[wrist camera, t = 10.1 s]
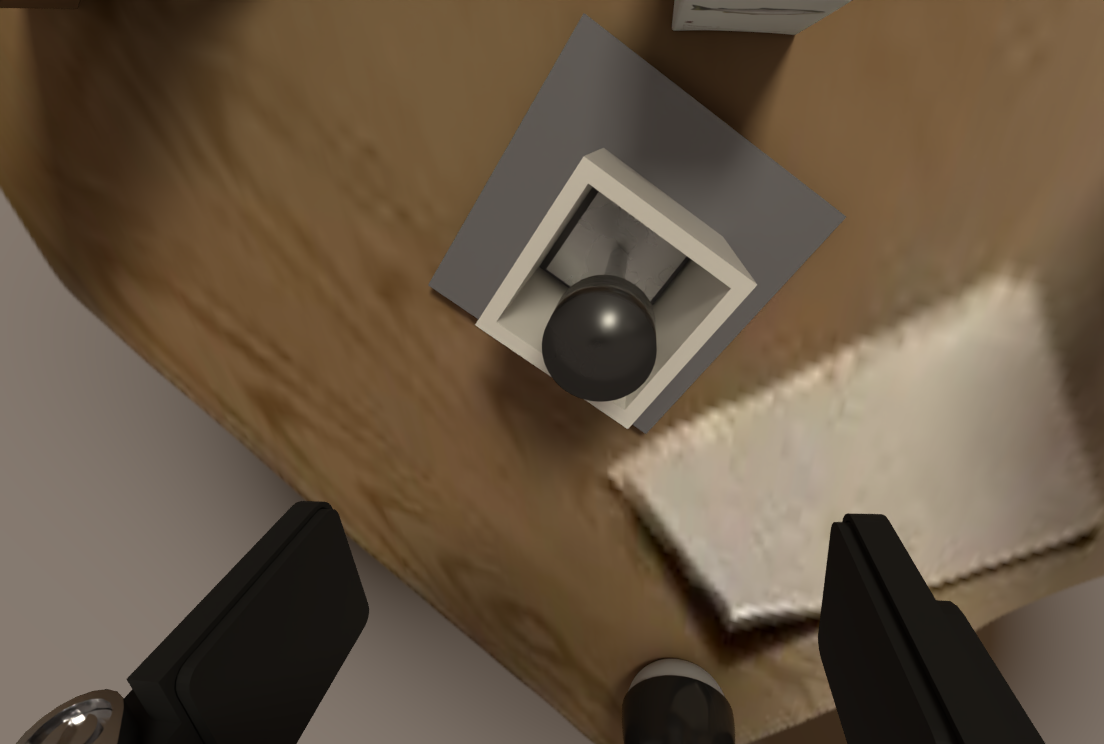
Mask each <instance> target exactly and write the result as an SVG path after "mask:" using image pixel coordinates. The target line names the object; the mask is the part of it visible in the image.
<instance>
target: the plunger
mask: <svg viewBox="0 0 1104 744" xmlns="http://www.w3.org/2000/svg"><path fill="white" fill-rule="evenodd" d="M685 258H686V255H685V254H684V253H682V252H681V251H679V250H678V249H677V248H675V247H674V246H673V245H671V244H670V243H669V242H667V241H666V240H665V239H663V238H662V237H660V236H659V235H658V234H656V233H655V232H654V231H652V230H651V229H650V228H648V227H647V226H645V225H644V224H643V223H641V222H640V221H639V220H637V219H636V218H635V217H633V216H632V215H631V214H629V213H628V212H626V211H625V210H624V209H622V208H621V207H620V206H618V205H617V204H616V203H614V202H613V201H611V200H610V199H609V198H607V197H606V196H605V195H603V194H602V193H601V192H598V194H597V195H596V196H595V198H594V199H593V201H592V202H591V204H590V205H589V207H588V208H587V210H586V211H585V213H584V214H583V216H582V217H581V219H580V220H579V222H578V223H577V225H576V226H575V227H574V229H573V230H572V232H571V233H570V235H569V236H568V238H567V239H566V241H565V242H564V244H563V245H562V247H561V248H560V250H559V251H558V253H557V254H556V255H555V257H554V258H553V260H552V261H551V263H550V264H549V266H548V267H547V270H548V271H549V272H551V273H552V274H554V275H555V276H556V277H558V278H559V279H561V280H562V281H564V282H565V283H566V284H568V285H569V286H571V287H570V288H568V289H567V290H566V292H565V293H564V294H563V295H562V297H561V298H560V300H559V302H558V304H557V306H556V308H555V310H554V312H553V313H552V315H551V317H550V319H549V321H548V323H547V325H546V328H545V330H544V334H543V338H542V355H543V360H544V363H545V366H546V368H547V370H548V372H549V374H550V375H551V377H552V378H553V379H554V381H555V382H556V383H557V384H558V385H559V386H560V387H562V388H563V389H564V390H565V391H567V392H569V393H570V394H572V395H574V396H576V397H579V398H582V399H585V400H589V401H598V402H604V401H612V400H617V399H620V398H623V397H625V396H627V395H629V394H631V393H633V392H634V391H636V390H637V389H638V388H639V387H640V386H641V385H642V384H643V383H644V382H645V381H646V380H647V378H648V377H649V375H650V374H651V372H652V370H653V367H654V365H655V361H656V354H657V343H656V322H655V314H654V310H653V307H652V305H651V303H650V301H651V300H652V299H653V297H654V296H655V295H656V294H657V293H658V291H659V290H660V289H661V288H662V286H663V285H664V284H665V283H666V281H667V280H668V279H669V278H670V276H671V275H672V274H673V273H674V271H675V270H676V269H677V268H678V266H679V265H680V264H681V263H682V261H683V260H684V259H685Z"/></svg>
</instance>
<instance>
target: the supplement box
mask: <svg viewBox="0 0 1104 744" xmlns="http://www.w3.org/2000/svg"><path fill="white" fill-rule="evenodd" d="M850 1H852V0H675V1H674V10H673V19H672V30H673V31H684V30H720V31H745V32H765V33H779V34H790V35H796V34H798V33H799V32H801V31H803V30H804V29H806V28H808V27H809V26H811V25H813V24H814V23H816V22H818V21H819V20H821V19H823V18H824V17H826V16H828V15H829V14H831V13H833V12H834V11H836V10H838V9H839V8H841V7H842V6H844V5H845V4H847V3H849V2H850Z"/></svg>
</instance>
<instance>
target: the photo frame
mask: <svg viewBox="0 0 1104 744" xmlns="http://www.w3.org/2000/svg"><path fill="white" fill-rule="evenodd" d="M79 2H80V0H0V8H61V9H77V8H78V5H79Z"/></svg>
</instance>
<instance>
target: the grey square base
mask: <svg viewBox="0 0 1104 744" xmlns="http://www.w3.org/2000/svg"><path fill="white" fill-rule="evenodd" d="M598 192H601V193H602V194H603V195H605V196H606V197H607V198H609V199H610V200H611V201H613V202H614V203H616V204H617V205H618V206H620V207H621V208H622V209H624V210H625V211H626V212H628V213H629V214H631V215H632V216H633V217H635V218H636V219H637V220H639V221H640V222H641V223H643V224H644V225H645V226H647V227H648V228H650V229H651V230H652V231H654V232H655V233H656V234H658V235H659V236H660V237H662V238H663V239H665V240H666V241H667V242H669V243H670V244H671V245H673V246H674V247H675V248H677V249H678V250H679V251H681V252H682V253H684V254H685V255H686V258H685V259H684V260H683V261H682V263H681V264H680V265H679V266H678V268H677V269H676V270H675V271H674V273H673V274H672V275H671V276H670V278H669V279H668V280H667V281H666V283H665V284H664V285H663V286H662V288H661V289H660V290H659V291H658V293H657V294H656V295H655V296H654V297H653V299H652V300H651V301H650V303H651V305H652V307H653V310H654V314H655V322H656V343H657V354H656V361H655V365H654V367H653V370H652V372H651V374H650V375H649V377H648V378H647V380H646V381H645V382H644V383H643V384H642V385H641V386H640V387H639V388H638V389H637V390H636V391H634V392H633V393H631V394H629V395H627V396H625V397H623V398H620V399H617V400H612V401H604V402H598V401H589V400H586V401H587V402H589V403H590V404H592V405H593V406H595V407H596V408H598V409H599V410H600V411H602V412H603V413H605V414H606V415H608V416H609V417H611V418H612V419H614V420H615V421H617V422H618V423H620V424H621V425H622V426H624V427H625V428H627V429H628V428H629V427H630V426H631V425H634V426H635V427H637V428H638V429H639V430H641V431H642V432H644V433H645V434H646V433H647V432H648V431H649V430H650V429H651V428H652V427H653V426H654V425H655V424H656V422H657V421H658V420H659V419H660V418H661V417H662V416H663V415H664V414H665V413H666V412H667V411H668V409H669V408H670V407H671V406H672V405H673V404H674V403H675V402H676V401H677V400H678V399H679V398H680V397H681V395H682V394H683V393H684V392H685V391H686V390H687V389H688V388H689V387H690V386H691V385H692V384H693V382H694V381H695V380H696V379H697V378H698V377H699V376H700V375H701V374H702V373H703V372H704V371H705V369H706V368H707V367H708V366H709V365H710V364H711V363H712V362H713V361H714V360H715V359H716V358H717V356H718V355H719V354H720V353H721V352H722V351H723V350H724V349H725V348H726V347H727V346H728V345H729V343H730V342H731V341H732V340H733V339H734V338H735V337H736V336H737V335H738V334H739V333H740V332H741V330H742V329H743V328H744V327H745V326H746V325H747V324H748V323H749V322H750V321H751V320H752V319H753V317H754V316H755V315H756V314H757V313H758V312H759V311H760V310H761V309H762V308H763V307H764V306H765V304H766V303H767V302H768V301H769V300H770V299H771V298H772V297H773V296H774V295H775V294H776V293H777V291H778V290H779V289H780V288H781V287H782V286H783V285H784V284H785V283H786V282H787V281H788V280H789V278H790V277H791V276H792V275H793V274H794V273H795V272H796V271H797V270H798V269H799V268H800V267H801V265H802V264H803V263H804V262H805V261H806V260H807V259H808V258H809V257H810V256H811V255H812V254H813V252H814V251H815V250H816V249H817V248H818V247H819V246H820V245H821V244H822V243H823V242H824V241H825V239H826V238H827V237H828V236H829V235H830V234H831V233H832V232H833V231H834V230H835V229H836V228H837V226H838V225H839V224H840V223H841V222H842V221H843V220H844V219H845V218H846V216H845V215H843V214H842V213H841V212H839V211H838V210H837V209H836V208H834V207H833V206H832V205H830V204H829V203H828V202H827V201H825V200H824V199H823V198H821V197H820V196H819V195H818V194H816V193H815V192H814V191H812V190H811V189H810V188H809V187H807V186H806V185H805V184H803V183H802V182H801V181H800V180H798V179H797V178H796V177H794V176H793V175H792V174H791V173H789V172H788V171H787V170H785V169H784V168H783V167H782V166H780V165H779V164H778V163H776V162H775V161H774V160H773V159H771V158H770V157H769V156H767V155H766V154H765V153H763V152H762V151H761V150H760V149H758V148H757V147H756V146H754V145H753V144H752V143H751V142H749V141H748V140H747V139H745V138H744V137H743V136H742V135H740V134H739V133H738V132H736V131H735V130H734V129H733V128H731V127H730V126H729V125H727V124H726V123H725V122H724V121H722V120H721V119H720V118H718V117H717V116H716V115H715V114H713V113H712V112H711V111H709V110H708V109H707V108H706V107H704V106H703V105H702V104H700V103H699V102H698V101H697V100H695V99H694V98H693V97H691V96H690V95H689V94H688V93H686V92H685V91H684V90H682V89H681V88H680V87H679V86H677V85H676V84H675V83H673V82H672V81H671V80H669V79H668V78H667V77H666V76H664V75H663V74H662V73H660V72H659V71H658V70H657V69H655V68H654V67H653V66H651V65H650V64H649V63H648V62H646V61H645V60H644V59H642V58H641V57H640V56H639V55H637V54H636V53H635V52H633V51H632V50H631V49H630V48H628V47H627V46H626V45H624V44H623V43H622V42H621V41H619V40H618V39H617V38H615V37H614V36H613V35H612V34H610V33H609V32H608V31H606V30H605V29H604V28H603V27H601V26H600V25H599V24H597V23H596V22H595V21H594V20H592V19H591V18H590V17H588V16H587V15H586V14H583V16H582V17H581V19H580V21H579V23H578V24H577V26H576V28H575V29H574V31H573V33H572V35H571V36H570V38H569V40H568V42H567V43H566V45H565V47H564V49H563V50H562V52H561V54H560V56H559V57H558V59H557V61H556V63H555V64H554V66H553V68H552V70H551V71H550V73H549V75H548V77H547V78H546V80H545V82H544V84H543V85H542V87H541V89H540V91H539V92H538V94H537V96H536V98H535V99H534V101H533V103H532V105H531V106H530V108H529V110H528V112H527V113H526V115H525V117H524V119H523V120H522V122H521V124H520V126H519V127H518V129H517V131H516V133H515V134H514V136H513V138H512V140H511V141H510V143H509V145H508V147H507V148H506V150H505V152H504V154H503V155H502V157H501V159H500V161H499V162H498V164H497V166H496V168H495V169H494V171H493V173H492V175H491V176H490V178H489V180H488V182H487V183H486V185H485V187H484V189H483V190H482V192H481V194H480V196H479V197H478V199H477V201H476V203H475V204H474V206H473V208H472V210H471V211H470V213H469V215H468V217H467V218H466V220H465V222H464V224H463V225H462V227H461V229H460V231H459V232H458V234H457V236H456V238H455V239H454V241H453V243H452V245H451V246H450V248H449V250H448V252H447V253H446V255H445V257H444V259H443V260H442V262H441V264H440V266H439V267H438V269H437V271H436V273H435V274H434V276H433V278H432V280H431V281H430V283H429V286H430V287H432V288H433V289H435V290H436V291H438V292H439V293H440V294H442V295H443V296H445V297H446V298H448V299H449V300H451V301H452V302H454V303H455V304H457V305H458V306H460V307H461V308H462V309H464V310H465V311H467V312H468V313H470V314H471V315H473V316H474V317H476V318H477V319H479V320H478V321H477V323H476V324H475V325H476V326H477V327H479V328H480V329H482V330H483V331H485V332H486V333H487V334H489V335H490V336H492V337H493V338H495V339H496V340H498V341H499V342H501V343H502V344H504V345H505V346H507V347H508V348H509V349H511V350H512V351H514V352H515V353H517V354H518V355H520V356H521V357H523V358H524V359H526V360H527V361H529V362H530V363H531V364H533V365H534V366H536V367H537V368H539V369H540V370H542V371H543V372H545V373H546V374H548V375H549V376H551V375H550V374H549V372H548V370H547V368H546V366H545V363H544V360H543V355H542V338H543V334H544V330H545V328H546V325H547V323H548V321H549V319H550V317H551V315H552V313H553V312H554V310H555V308H556V306H557V304H558V302H559V300H560V298H561V297H562V295H563V294H564V293H565V292H566V290H567V289H568V288H570V287H571V286H569V285H568V284H566V283H565V282H564V281H562V280H561V279H559V278H558V277H556V276H555V275H554V274H552V273H551V272H549V271H548V270H547V267H548V266H549V264H550V263H551V261H552V260H553V258H554V257H555V255H556V254H557V253H558V251H559V250H560V248H561V247H562V245H563V244H564V242H565V241H566V239H567V238H568V236H569V235H570V233H571V232H572V230H573V229H574V227H575V226H576V225H577V223H578V222H579V220H580V219H581V217H582V216H583V214H584V213H585V211H586V210H587V208H588V207H589V205H590V204H591V202H592V201H593V199H594V198H595V196H596V195H597V194H598ZM584 400H585V399H584Z"/></svg>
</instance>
